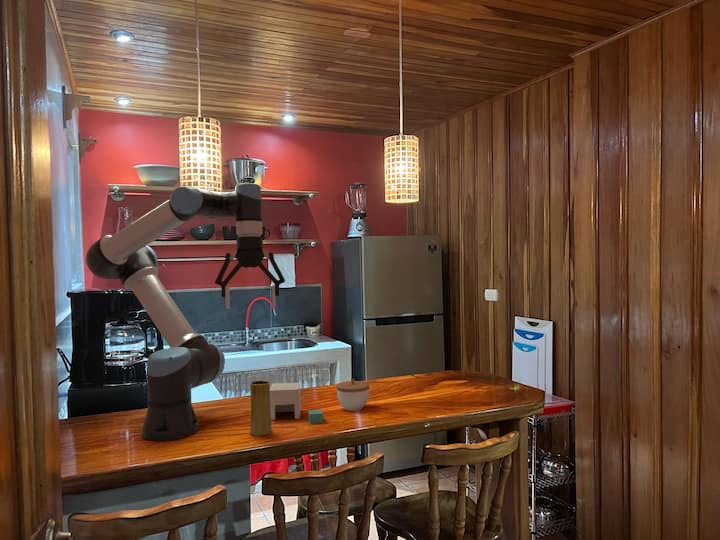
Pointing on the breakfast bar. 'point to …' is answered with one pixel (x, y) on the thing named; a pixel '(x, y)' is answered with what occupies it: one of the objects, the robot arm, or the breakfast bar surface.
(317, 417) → the teal block
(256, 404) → the vase
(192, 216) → the robot arm
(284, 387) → the notched white block
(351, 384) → the lidded jar
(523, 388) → the breakfast bar surface
